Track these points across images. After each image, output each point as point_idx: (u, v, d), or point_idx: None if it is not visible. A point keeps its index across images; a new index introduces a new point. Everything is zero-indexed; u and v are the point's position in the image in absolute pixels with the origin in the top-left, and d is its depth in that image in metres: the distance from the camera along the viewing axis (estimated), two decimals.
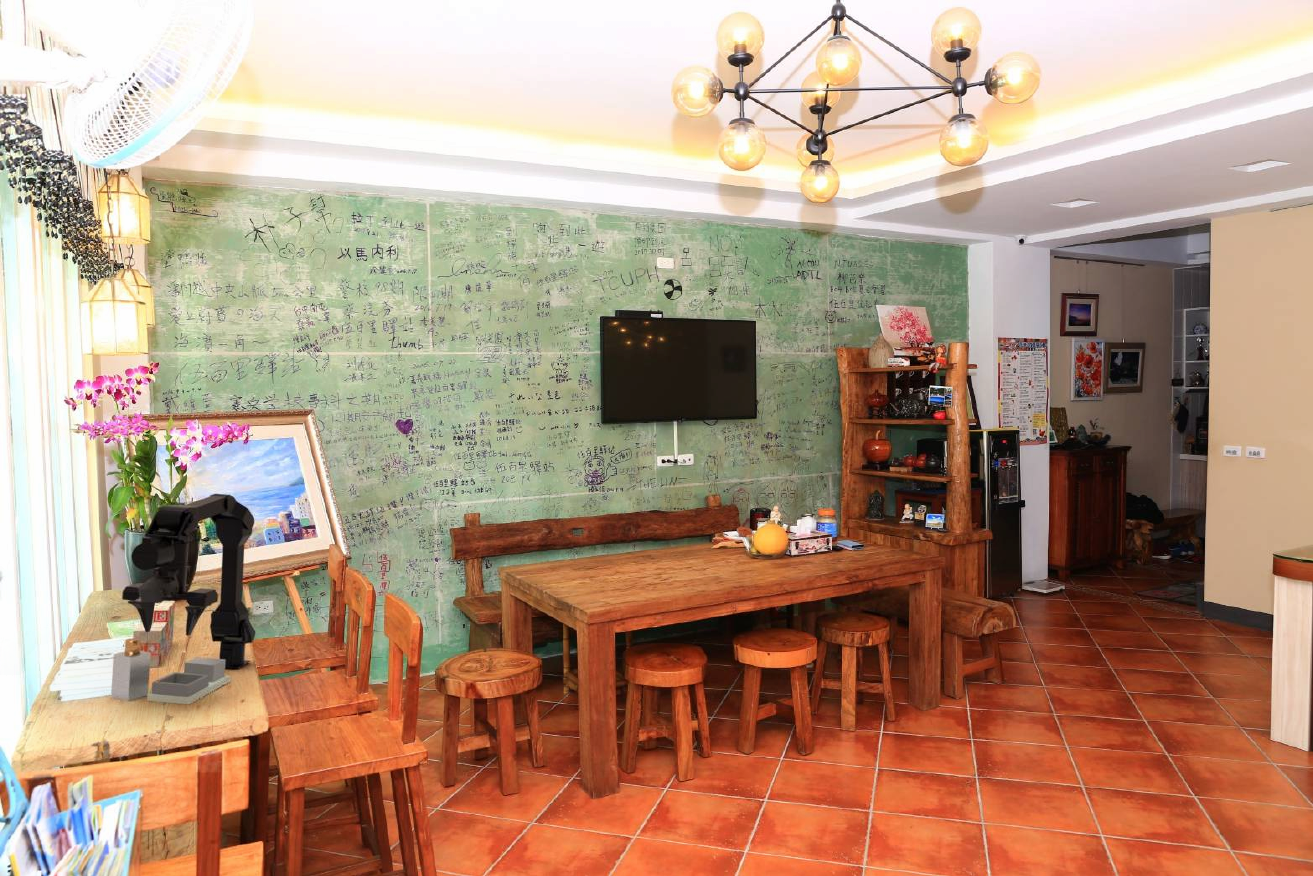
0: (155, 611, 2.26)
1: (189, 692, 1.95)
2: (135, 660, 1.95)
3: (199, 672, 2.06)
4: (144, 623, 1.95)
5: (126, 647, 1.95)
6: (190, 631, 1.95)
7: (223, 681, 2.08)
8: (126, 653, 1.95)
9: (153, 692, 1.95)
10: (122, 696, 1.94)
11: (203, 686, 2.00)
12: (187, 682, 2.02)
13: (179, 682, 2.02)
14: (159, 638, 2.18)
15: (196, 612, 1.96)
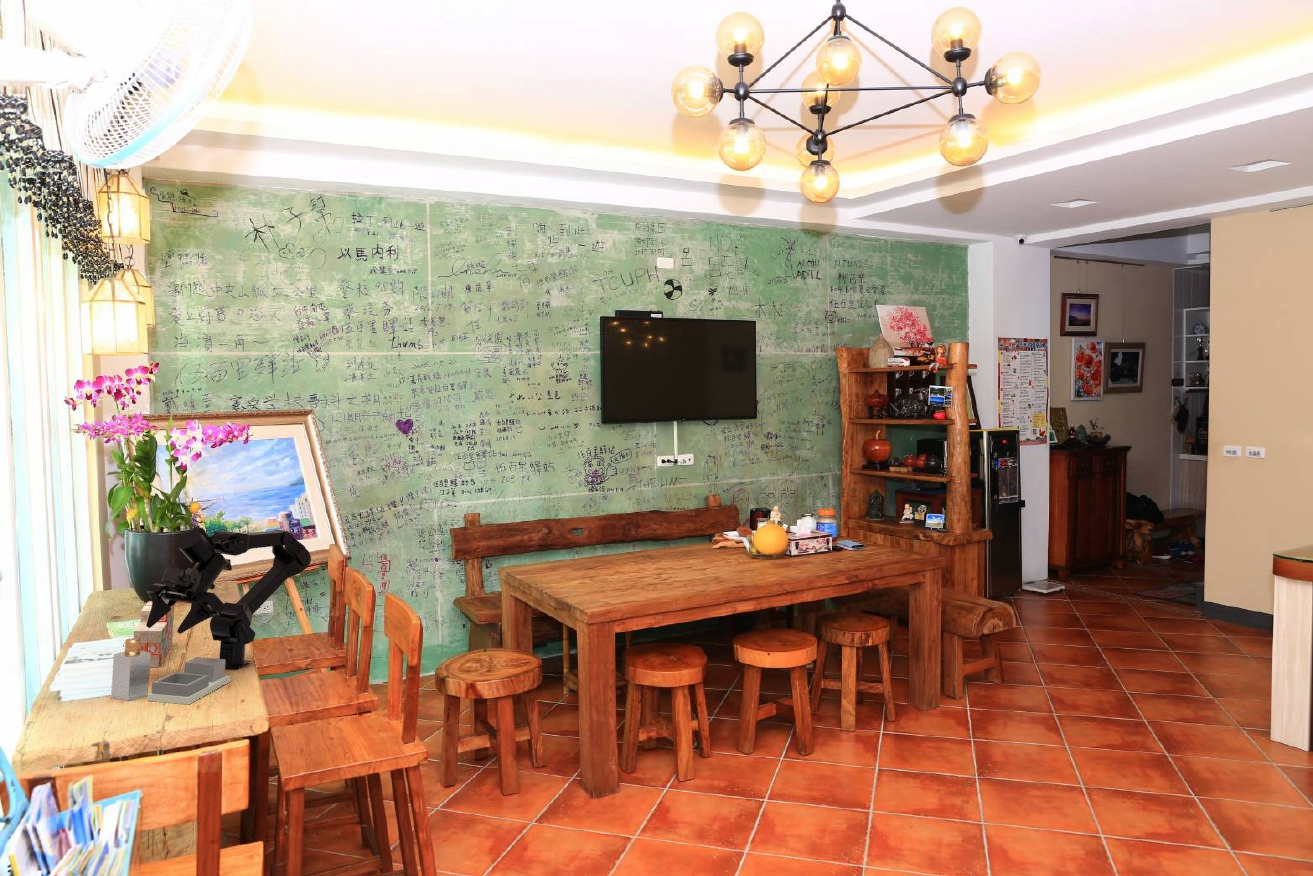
0: None
1: (189, 692, 1.95)
2: (135, 660, 1.95)
3: (199, 672, 2.06)
4: (150, 617, 2.06)
5: (126, 647, 1.95)
6: (182, 629, 2.02)
7: (223, 681, 2.08)
8: (126, 653, 1.95)
9: (153, 692, 1.95)
10: (122, 696, 1.94)
11: (203, 686, 2.00)
12: (187, 682, 2.02)
13: (179, 682, 2.02)
14: (159, 638, 2.18)
15: (197, 616, 2.05)
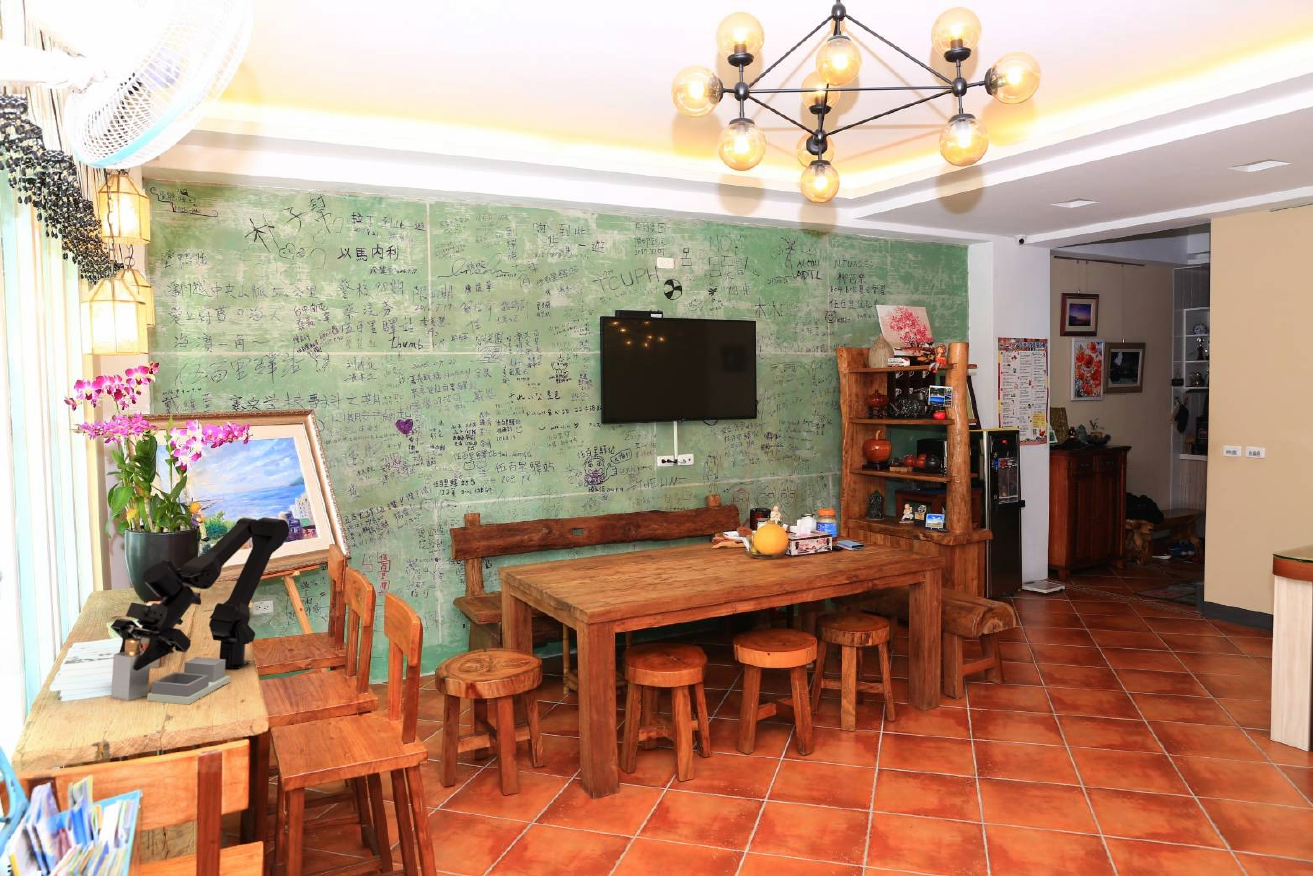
0: None
1: (189, 692, 1.95)
2: (135, 660, 1.95)
3: (199, 672, 2.06)
4: None
5: (126, 647, 1.95)
6: (139, 666, 1.95)
7: (223, 681, 2.08)
8: (126, 653, 1.95)
9: (153, 692, 1.95)
10: (122, 696, 1.94)
11: (203, 686, 2.00)
12: (187, 682, 2.02)
13: (179, 682, 2.02)
14: None
15: (155, 652, 1.98)
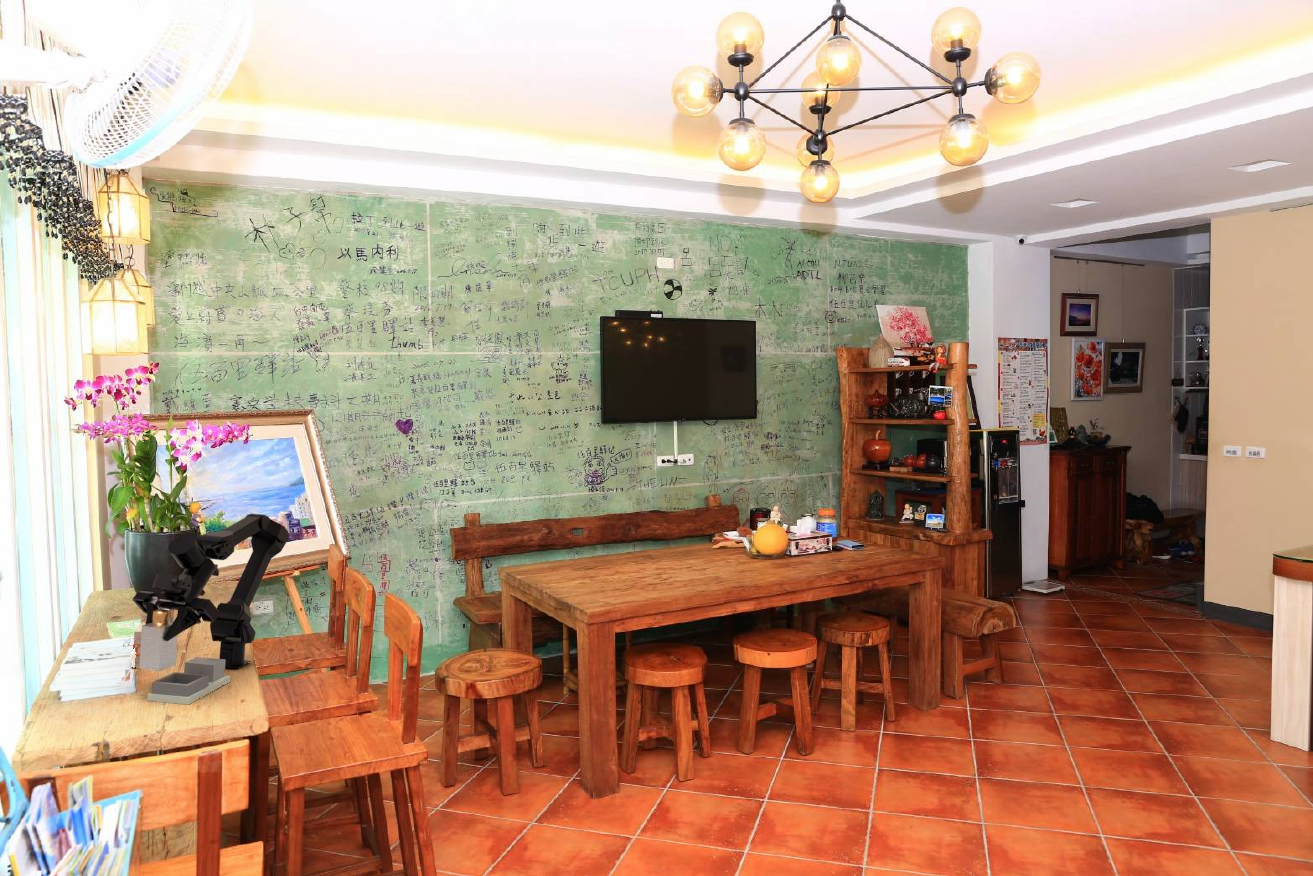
0: None
1: (189, 692, 1.95)
2: (165, 630, 1.95)
3: (199, 672, 2.06)
4: None
5: (154, 618, 1.96)
6: (169, 636, 1.96)
7: (223, 681, 2.08)
8: (155, 624, 1.96)
9: (153, 692, 1.95)
10: (152, 667, 1.95)
11: (203, 686, 2.00)
12: (187, 682, 2.02)
13: (179, 682, 2.02)
14: None
15: (183, 622, 1.99)
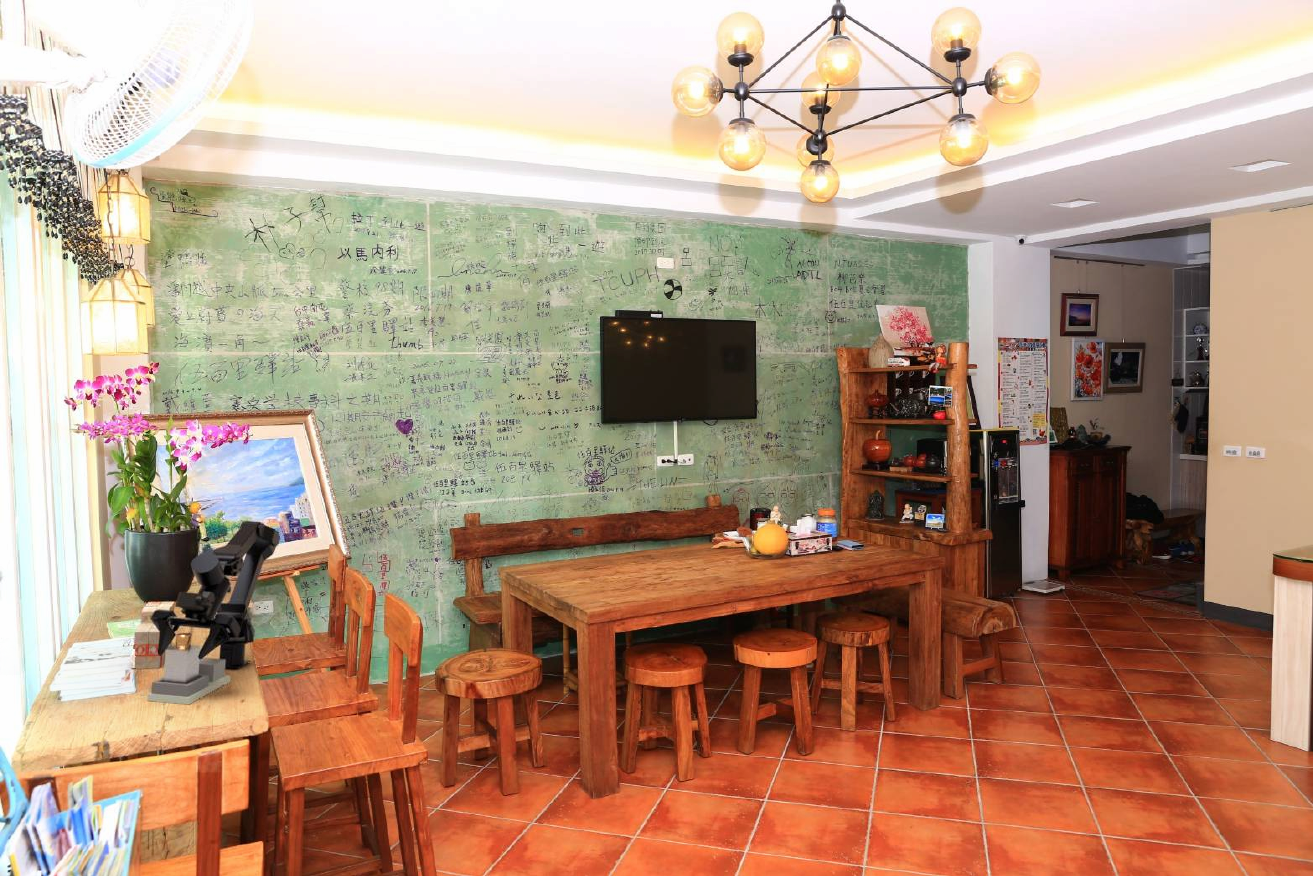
0: None
1: (189, 692, 1.95)
2: (190, 653, 1.97)
3: (199, 672, 2.06)
4: (160, 644, 1.98)
5: (179, 641, 1.97)
6: (202, 654, 1.97)
7: (223, 681, 2.08)
8: (179, 647, 1.97)
9: (153, 692, 1.95)
10: None
11: (203, 686, 2.00)
12: None
13: None
14: None
15: (215, 640, 2.01)
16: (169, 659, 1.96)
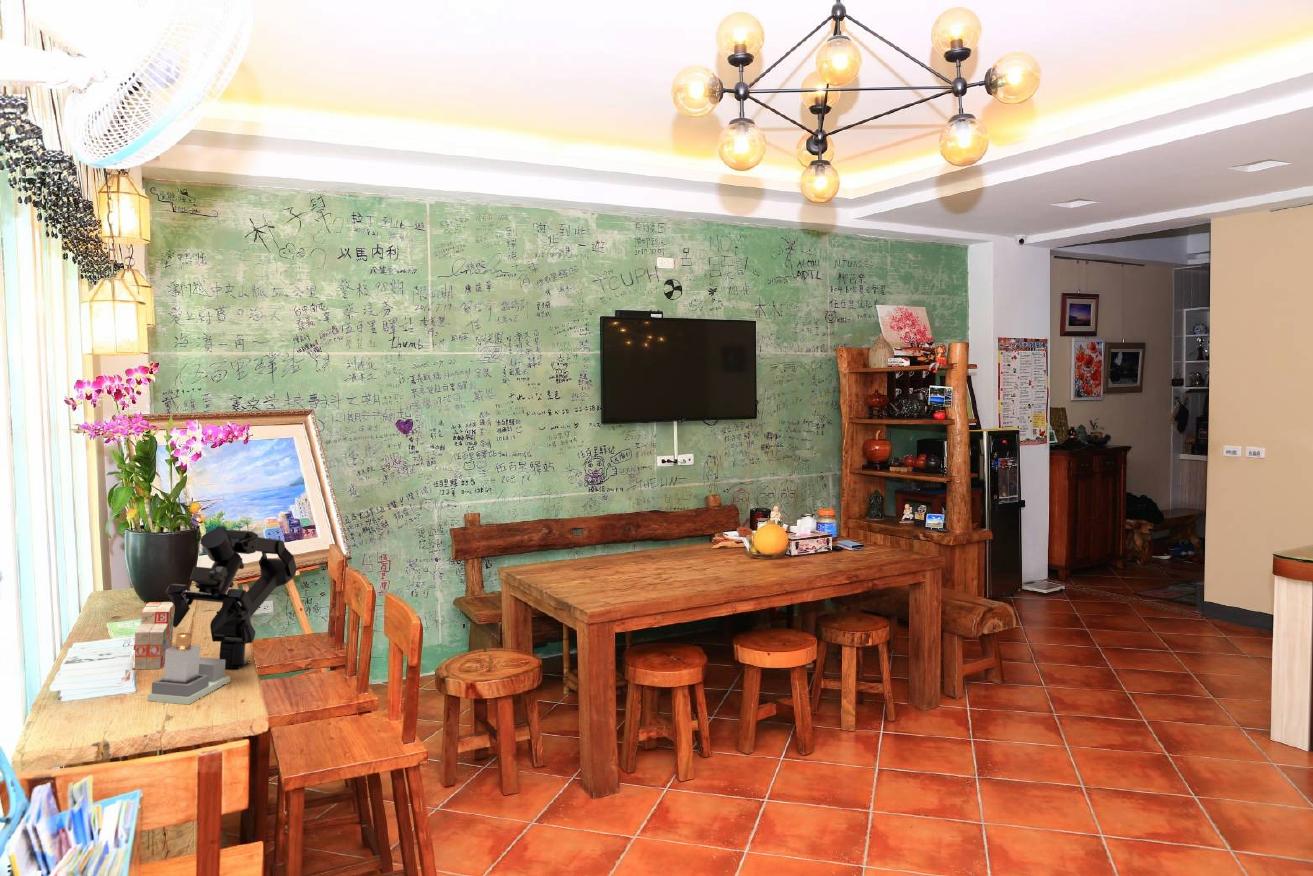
0: (156, 612, 2.24)
1: (189, 692, 1.95)
2: (190, 653, 1.97)
3: (199, 672, 2.06)
4: (175, 617, 2.07)
5: (179, 641, 1.97)
6: (216, 626, 2.06)
7: (223, 681, 2.08)
8: (179, 647, 1.97)
9: (153, 692, 1.95)
10: None
11: (203, 686, 2.00)
12: None
13: None
14: (161, 640, 2.17)
15: (227, 613, 2.09)
16: (169, 659, 1.96)
